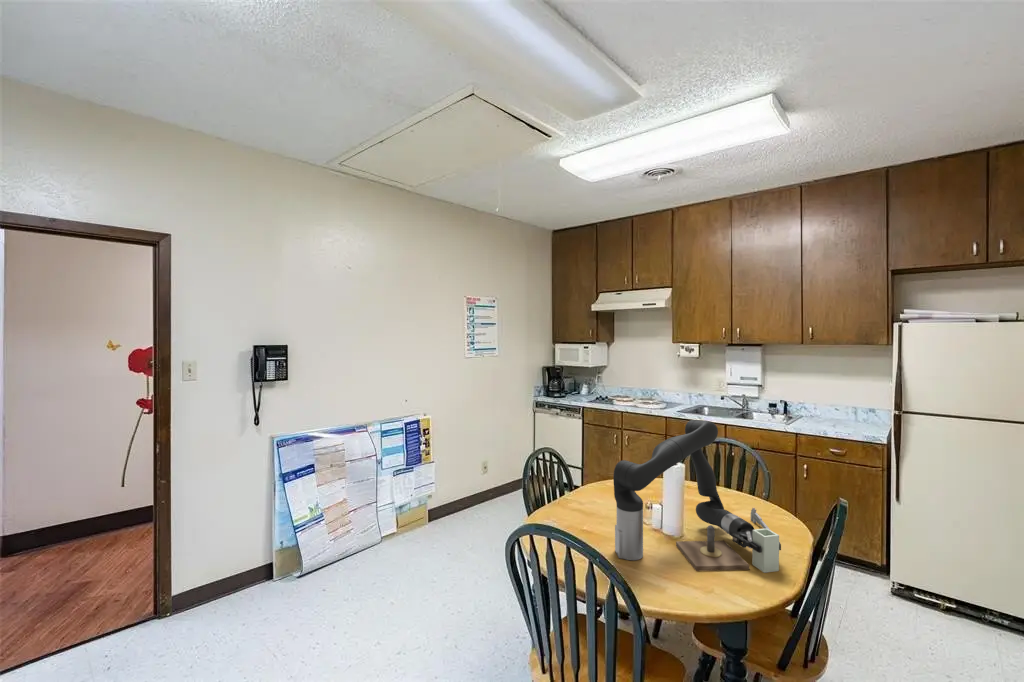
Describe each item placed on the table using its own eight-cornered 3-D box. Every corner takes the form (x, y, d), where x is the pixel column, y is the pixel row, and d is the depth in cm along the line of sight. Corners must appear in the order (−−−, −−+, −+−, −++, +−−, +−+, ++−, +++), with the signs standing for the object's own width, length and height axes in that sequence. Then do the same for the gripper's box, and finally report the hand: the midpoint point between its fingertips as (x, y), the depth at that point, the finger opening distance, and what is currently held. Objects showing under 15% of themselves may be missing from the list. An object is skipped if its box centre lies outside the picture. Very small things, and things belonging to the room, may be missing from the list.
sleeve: (764, 572, 156) (764, 537, 156) (752, 564, 162) (752, 529, 161) (778, 570, 157) (779, 535, 157) (766, 562, 163) (766, 528, 162)
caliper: (750, 521, 197) (750, 506, 197) (753, 521, 197) (753, 506, 197) (777, 544, 176) (777, 527, 176) (780, 544, 176) (780, 527, 176)
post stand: (696, 570, 158) (696, 537, 157) (676, 545, 176) (676, 515, 175) (749, 569, 158) (749, 536, 158) (723, 544, 176) (724, 514, 176)
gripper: (719, 519, 172) (751, 539, 155) (754, 515, 174) (789, 535, 158) (719, 539, 172) (751, 562, 156) (754, 535, 175) (789, 557, 159)
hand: (770, 548), depth 157 cm, fingers open, 7 cm apart
